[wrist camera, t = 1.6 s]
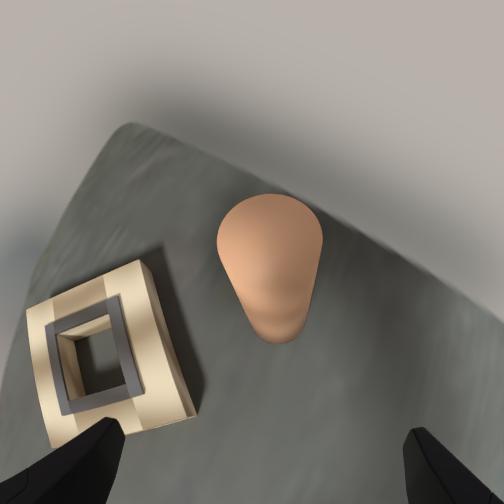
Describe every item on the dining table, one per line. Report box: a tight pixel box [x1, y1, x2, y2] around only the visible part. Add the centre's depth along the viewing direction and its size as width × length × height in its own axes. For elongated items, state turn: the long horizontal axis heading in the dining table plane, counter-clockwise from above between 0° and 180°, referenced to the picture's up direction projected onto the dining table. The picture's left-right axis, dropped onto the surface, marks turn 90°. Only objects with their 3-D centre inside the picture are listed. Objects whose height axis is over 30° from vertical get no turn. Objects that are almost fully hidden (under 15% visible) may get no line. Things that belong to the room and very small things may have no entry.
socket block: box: [26, 259, 197, 448], centre depth 21 cm, size 12×12×3 cm
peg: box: [217, 194, 323, 344], centre depth 17 cm, size 4×4×12 cm
